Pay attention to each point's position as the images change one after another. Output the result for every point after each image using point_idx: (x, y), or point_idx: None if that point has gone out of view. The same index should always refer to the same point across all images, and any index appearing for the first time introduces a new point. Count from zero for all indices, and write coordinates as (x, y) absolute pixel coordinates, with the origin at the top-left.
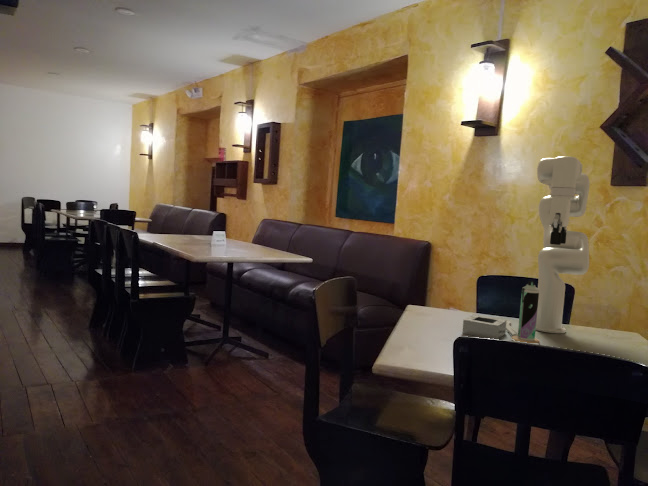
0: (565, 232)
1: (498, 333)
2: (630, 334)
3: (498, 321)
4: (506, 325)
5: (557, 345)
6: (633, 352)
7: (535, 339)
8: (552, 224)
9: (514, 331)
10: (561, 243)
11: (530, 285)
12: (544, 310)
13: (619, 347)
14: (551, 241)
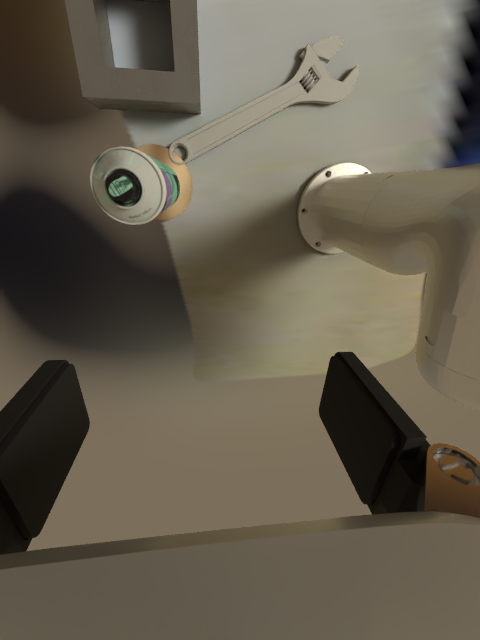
0: (372, 507)
1: (105, 104)
2: (396, 353)
3: (153, 80)
4: (282, 96)
5: (184, 256)
6: (245, 368)
7: (174, 208)
8: (367, 553)
9: (222, 138)
10: (326, 390)
11: (103, 189)
12: (331, 207)
13: (267, 349)
14: (38, 383)
